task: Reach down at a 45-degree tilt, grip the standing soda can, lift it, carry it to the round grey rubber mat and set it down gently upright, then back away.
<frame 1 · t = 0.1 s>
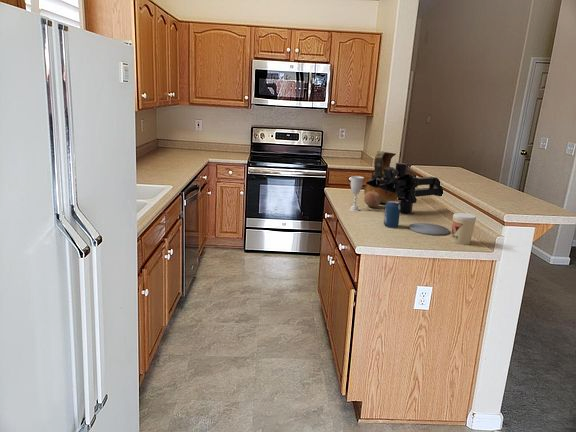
hand: (372, 184, 233), 17 cm above the counter, tool horizontal, fingers open, 9 cm apart
coffee cup: (460, 242, 201), on the counter
rubber mat: (428, 230, 217), on the counter
soda can: (390, 226, 220), on the counter
ceramic pitcher: (380, 202, 274), on the counter
chalice: (354, 210, 250), on the counter
onion: (371, 207, 258), on the counter
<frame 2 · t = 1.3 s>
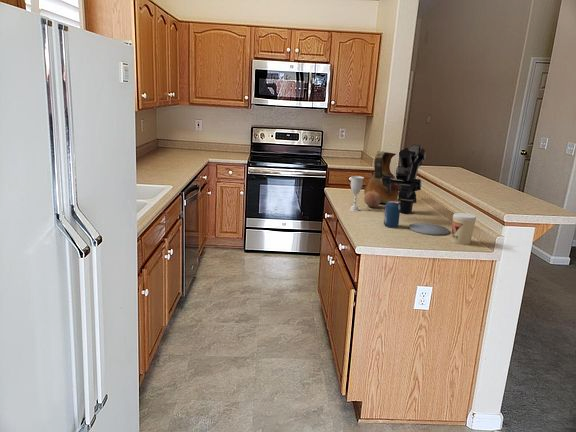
hand: (397, 196, 224), 13 cm above the counter, tool tilted 45°, fingers open, 9 cm apart
nothing on the counter moved.
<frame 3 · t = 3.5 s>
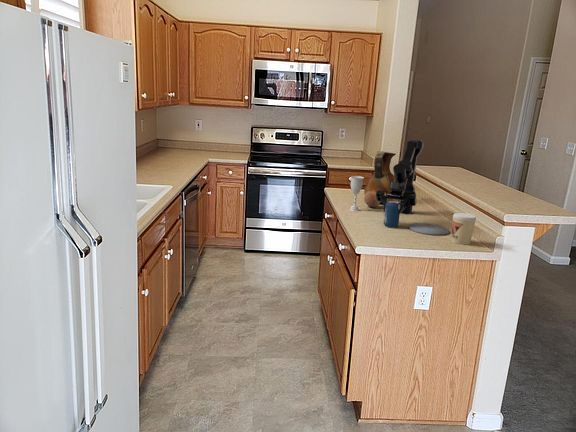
hand: (391, 212, 217), 7 cm above the counter, tool tilted 45°, fingers closed on soda can, 7 cm apart
soda can: (390, 226, 220), on the counter, touching gripper
everything else where it was.
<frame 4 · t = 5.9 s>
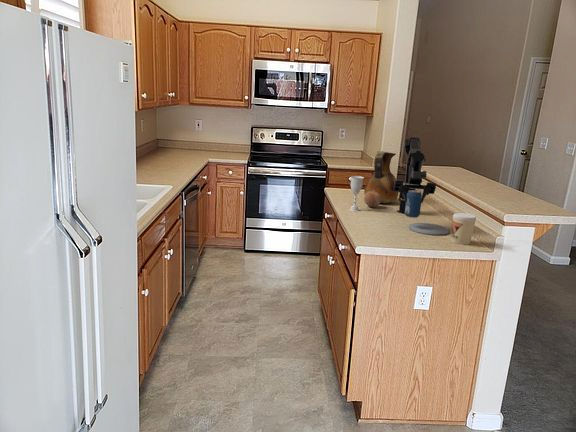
hand: (414, 201, 213), 13 cm above the counter, tool tilted 45°, fingers closed on soda can, 7 cm apart
soda can: (411, 216, 216), point 6 cm above the counter, touching gripper
everything else where it was.
when the fingers open (9 cm above the counter, at t = 8.1 s): soda can stays where it is, resting on rubber mat.
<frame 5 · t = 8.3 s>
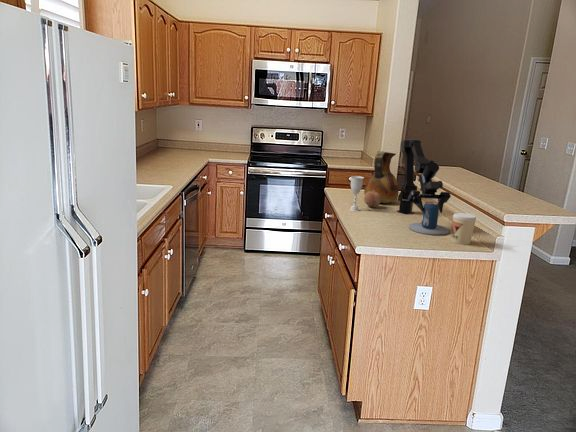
hand: (432, 212, 214), 9 cm above the counter, tool tilted 45°, fingers open, 8 cm apart
soda can: (428, 228, 217), point 1 cm above the counter, touching rubber mat
everything else where it was.
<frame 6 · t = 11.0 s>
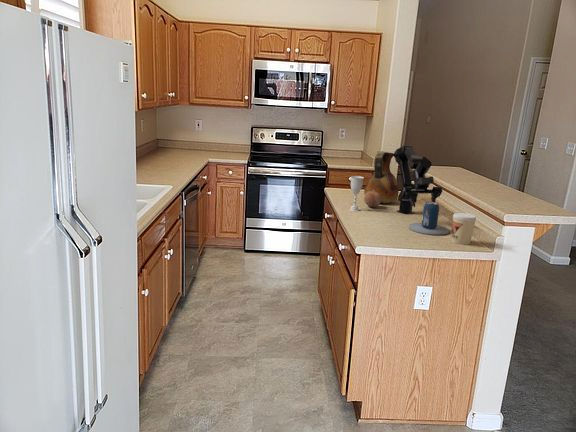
hand: (424, 206, 223), 9 cm above the counter, tool tilted 45°, fingers open, 9 cm apart
nothing on the counter moved.
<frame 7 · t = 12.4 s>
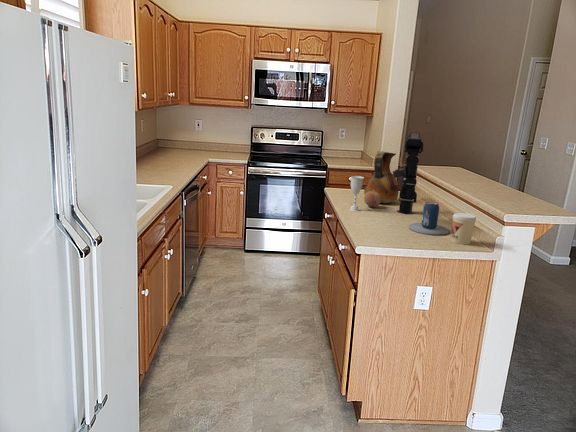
hand: (407, 195, 228), 13 cm above the counter, tool pointing down, fingers open, 9 cm apart
nothing on the counter moved.
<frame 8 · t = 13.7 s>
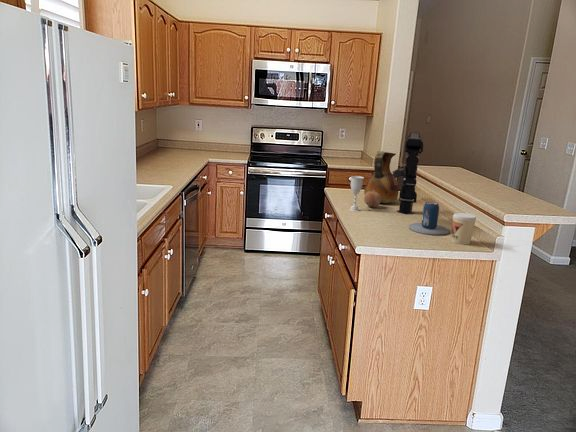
hand: (407, 195, 228), 13 cm above the counter, tool pointing down, fingers open, 9 cm apart
nothing on the counter moved.
at the end: soda can inside the target area on the rubber mat (0.1 cm from its centre), point 0.8 cm above the rubber mat's base; soda can tilted 0°; the gripper is holding nothing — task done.
